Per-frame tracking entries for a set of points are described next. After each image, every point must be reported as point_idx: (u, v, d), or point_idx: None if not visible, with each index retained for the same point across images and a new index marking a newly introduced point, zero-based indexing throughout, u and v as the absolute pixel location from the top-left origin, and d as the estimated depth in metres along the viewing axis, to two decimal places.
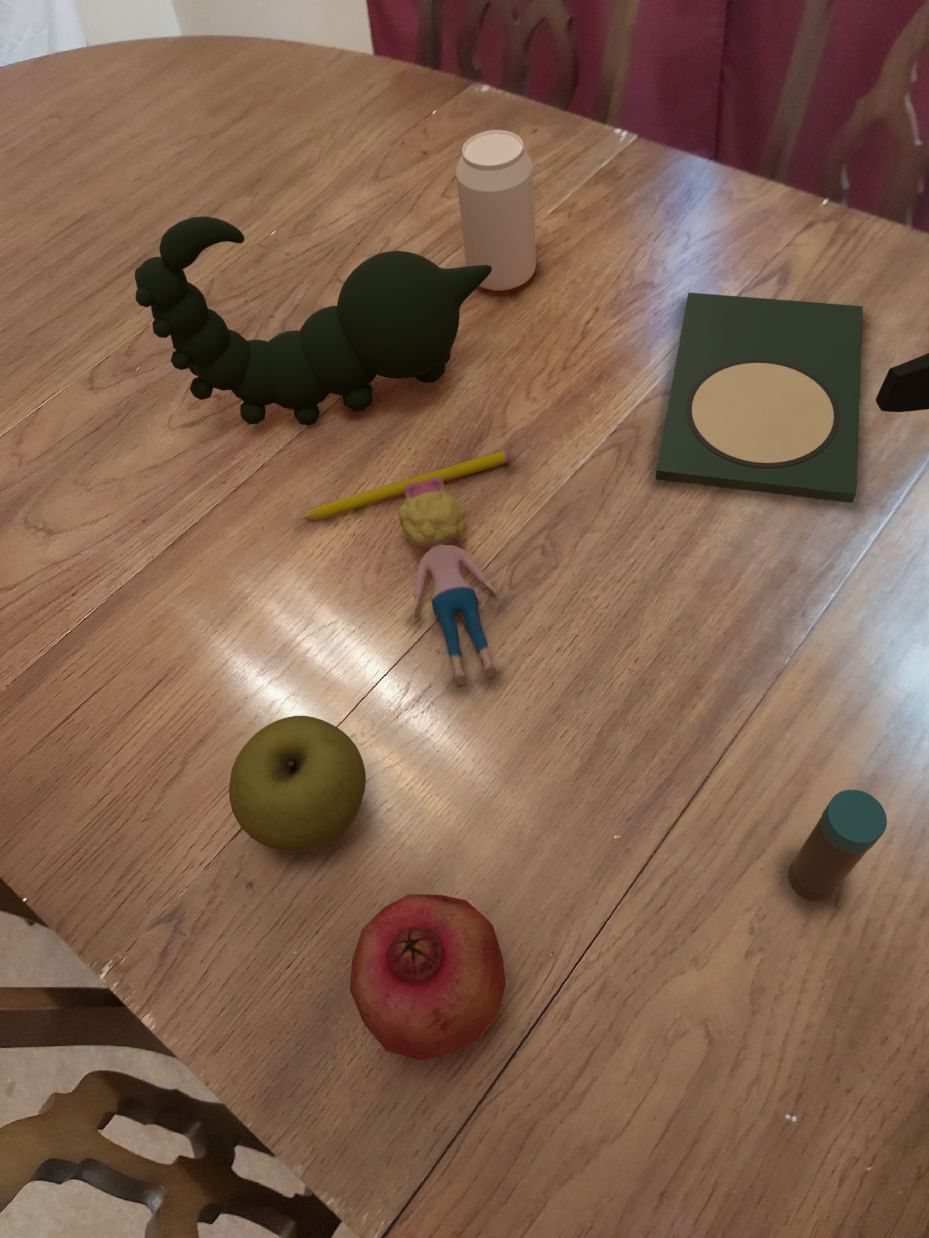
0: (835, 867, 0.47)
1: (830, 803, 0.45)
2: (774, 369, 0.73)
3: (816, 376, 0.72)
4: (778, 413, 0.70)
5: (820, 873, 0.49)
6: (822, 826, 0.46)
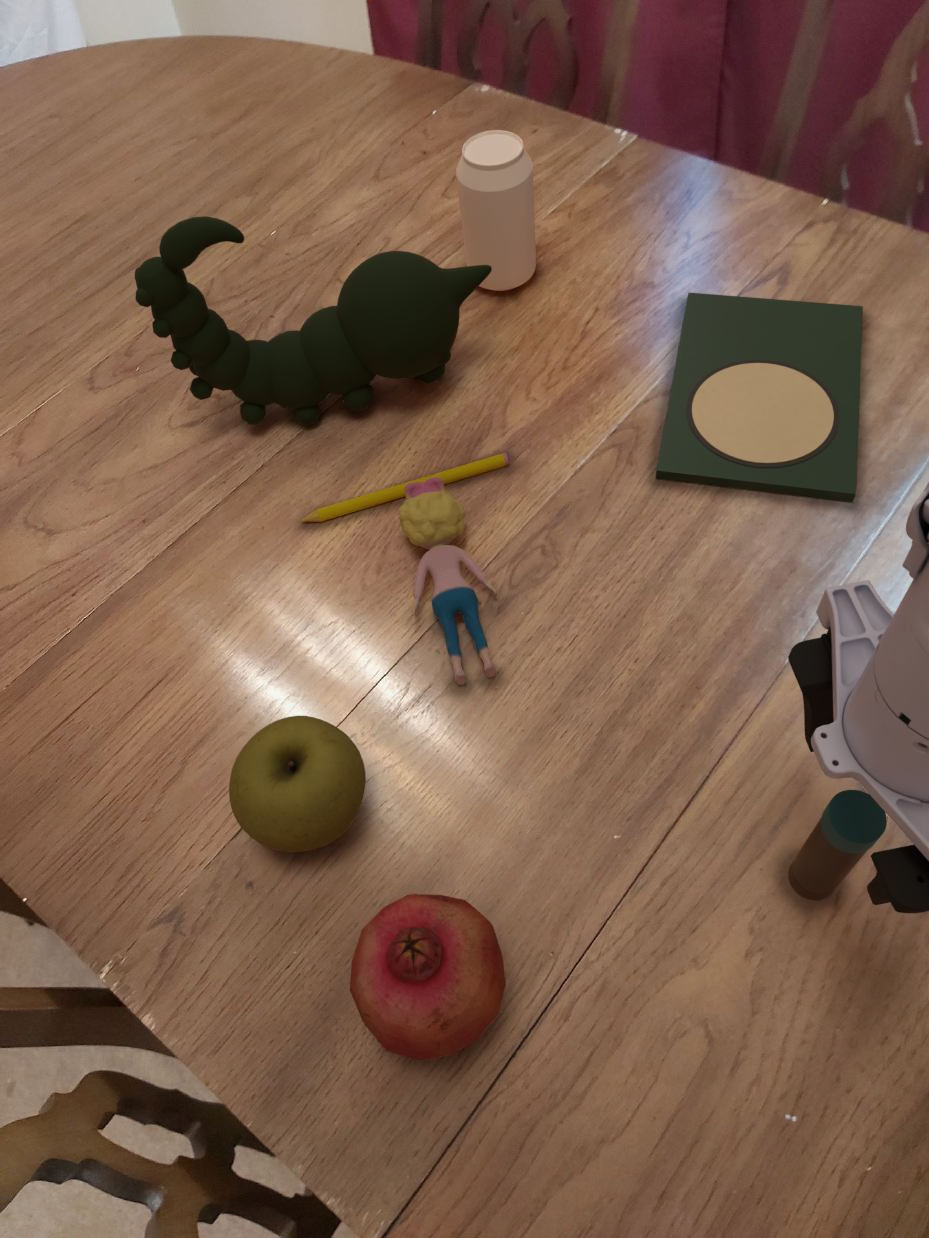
0: (835, 867, 0.47)
1: (830, 803, 0.45)
2: (774, 369, 0.73)
3: (816, 376, 0.72)
4: (778, 413, 0.70)
5: (820, 873, 0.49)
6: (822, 826, 0.46)
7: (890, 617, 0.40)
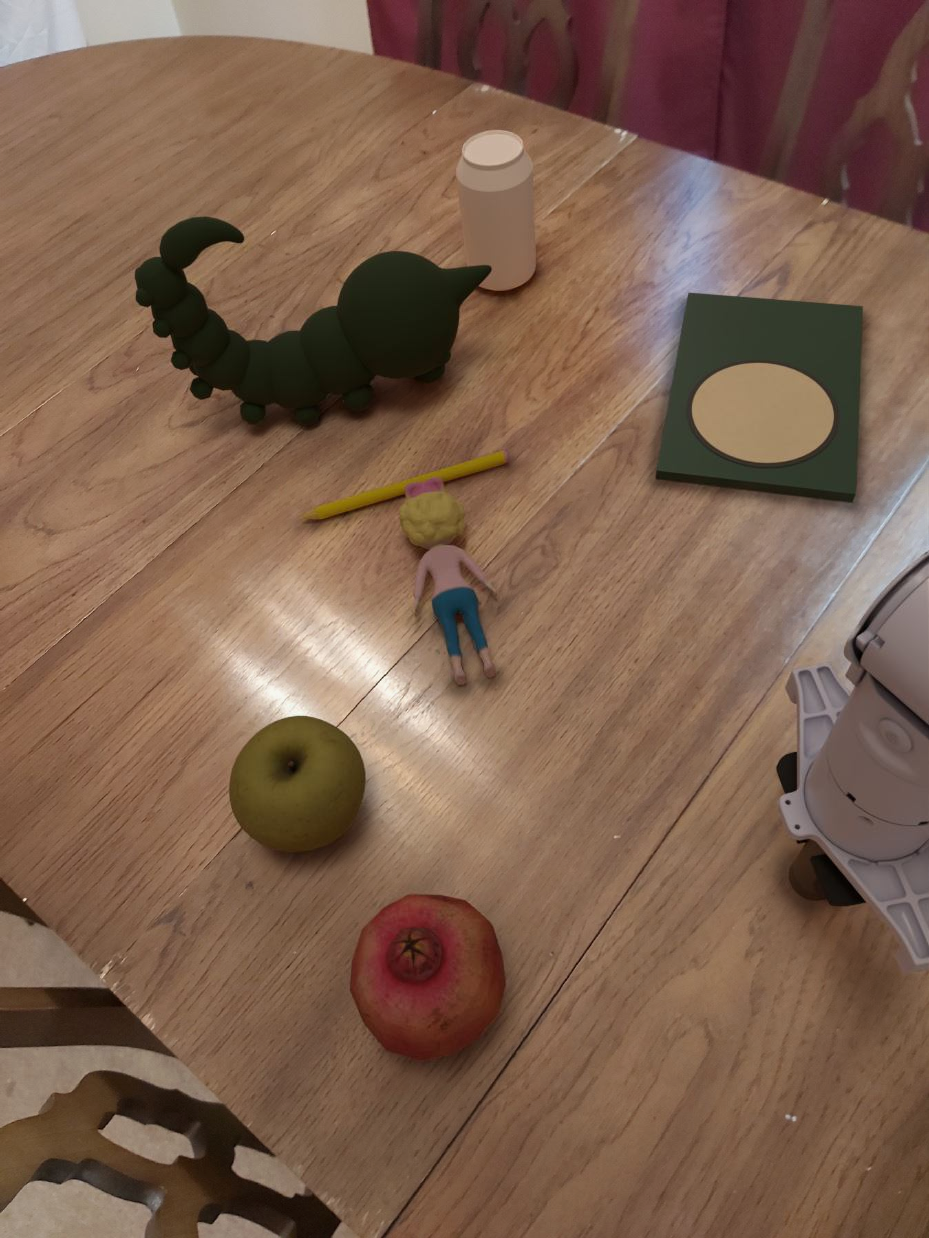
0: None
1: None
2: (774, 369, 0.73)
3: (816, 376, 0.72)
4: (778, 413, 0.70)
5: None
6: None
7: (847, 696, 0.46)
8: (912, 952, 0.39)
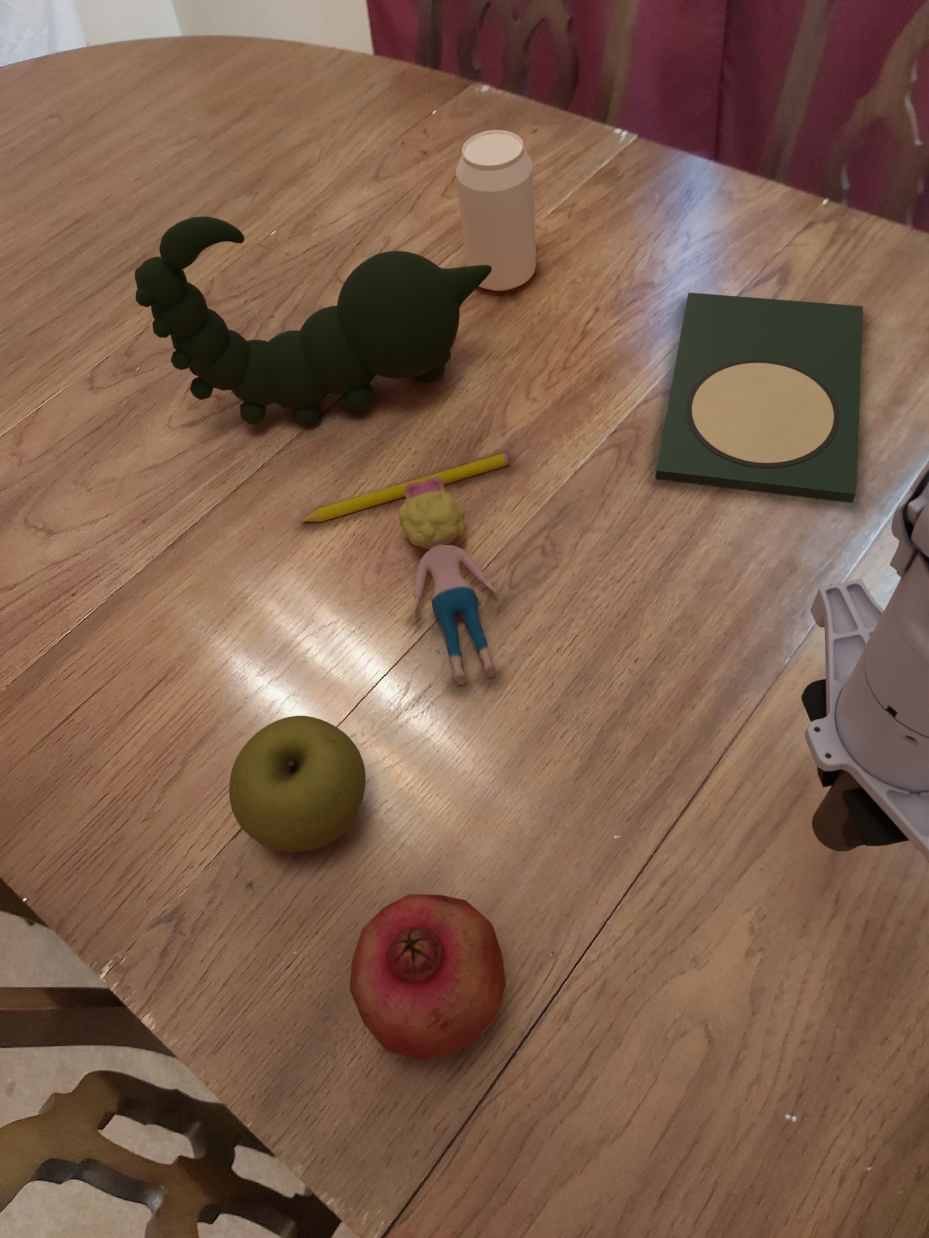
0: None
1: None
2: (774, 369, 0.73)
3: (816, 376, 0.72)
4: (778, 413, 0.70)
5: None
6: None
7: (881, 615, 0.41)
8: None
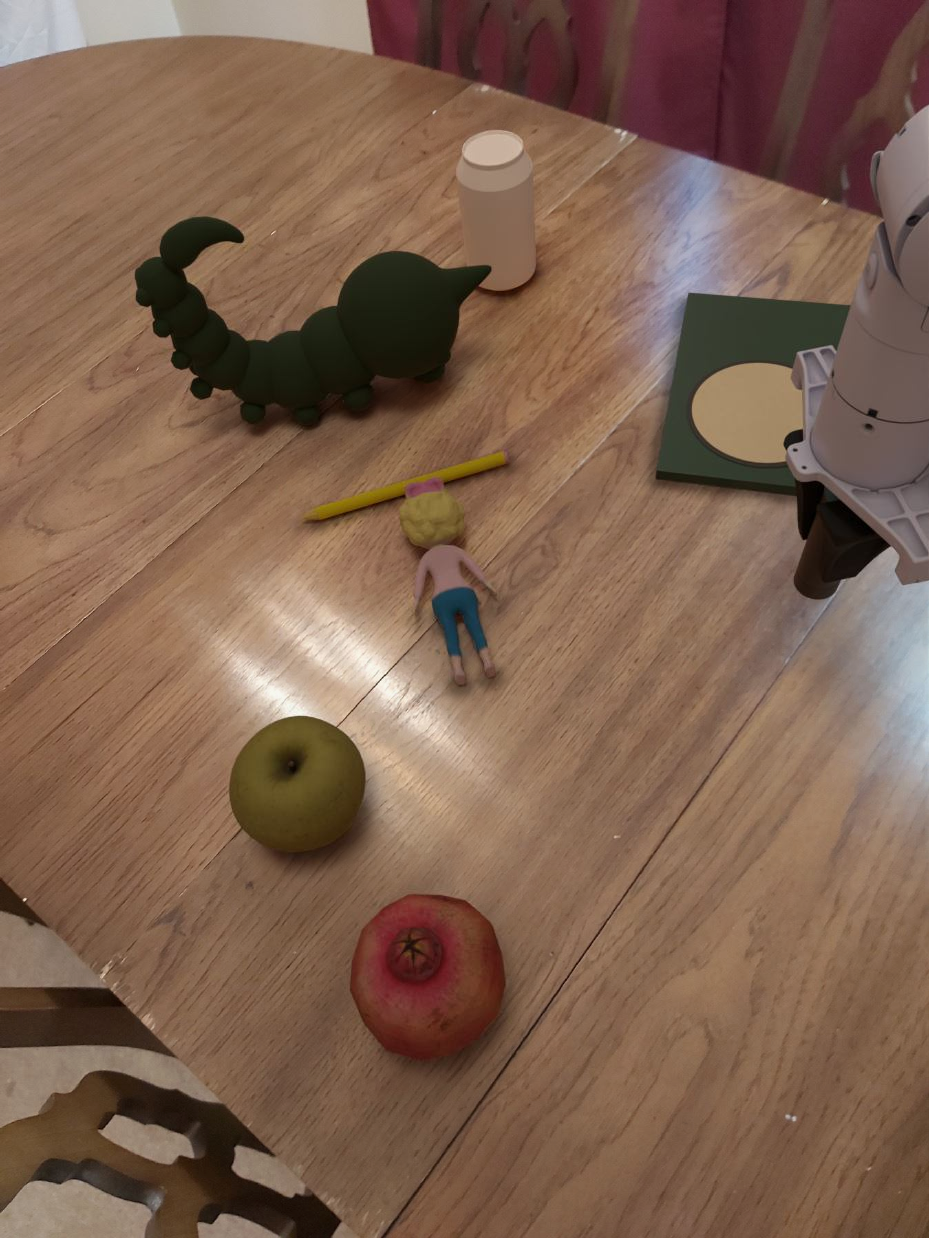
0: None
1: None
2: (774, 369, 0.73)
3: None
4: (778, 413, 0.70)
5: None
6: (825, 491, 0.49)
7: None
8: (911, 553, 0.43)
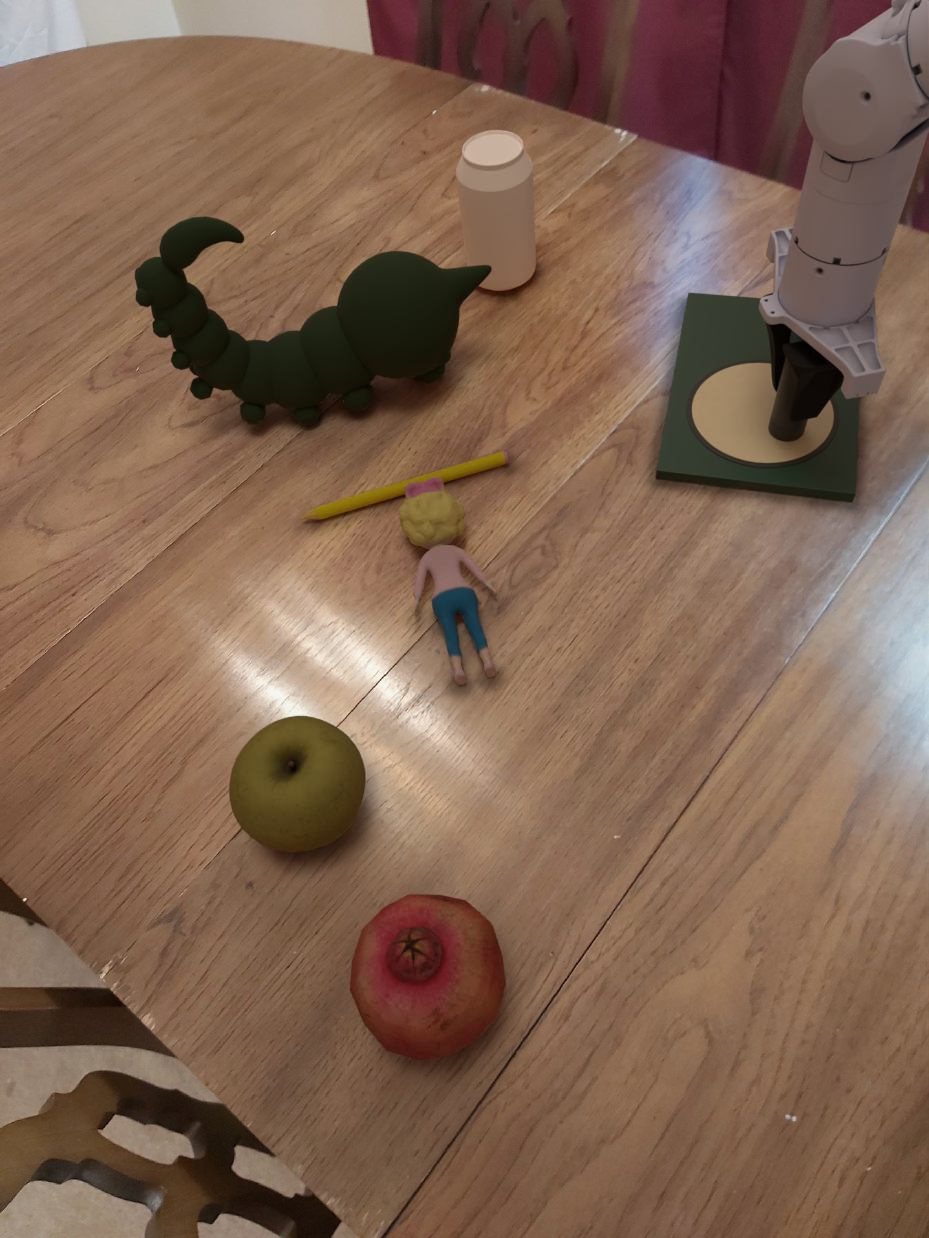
0: None
1: None
2: None
3: None
4: None
5: None
6: (790, 338, 0.62)
7: None
8: (852, 370, 0.56)
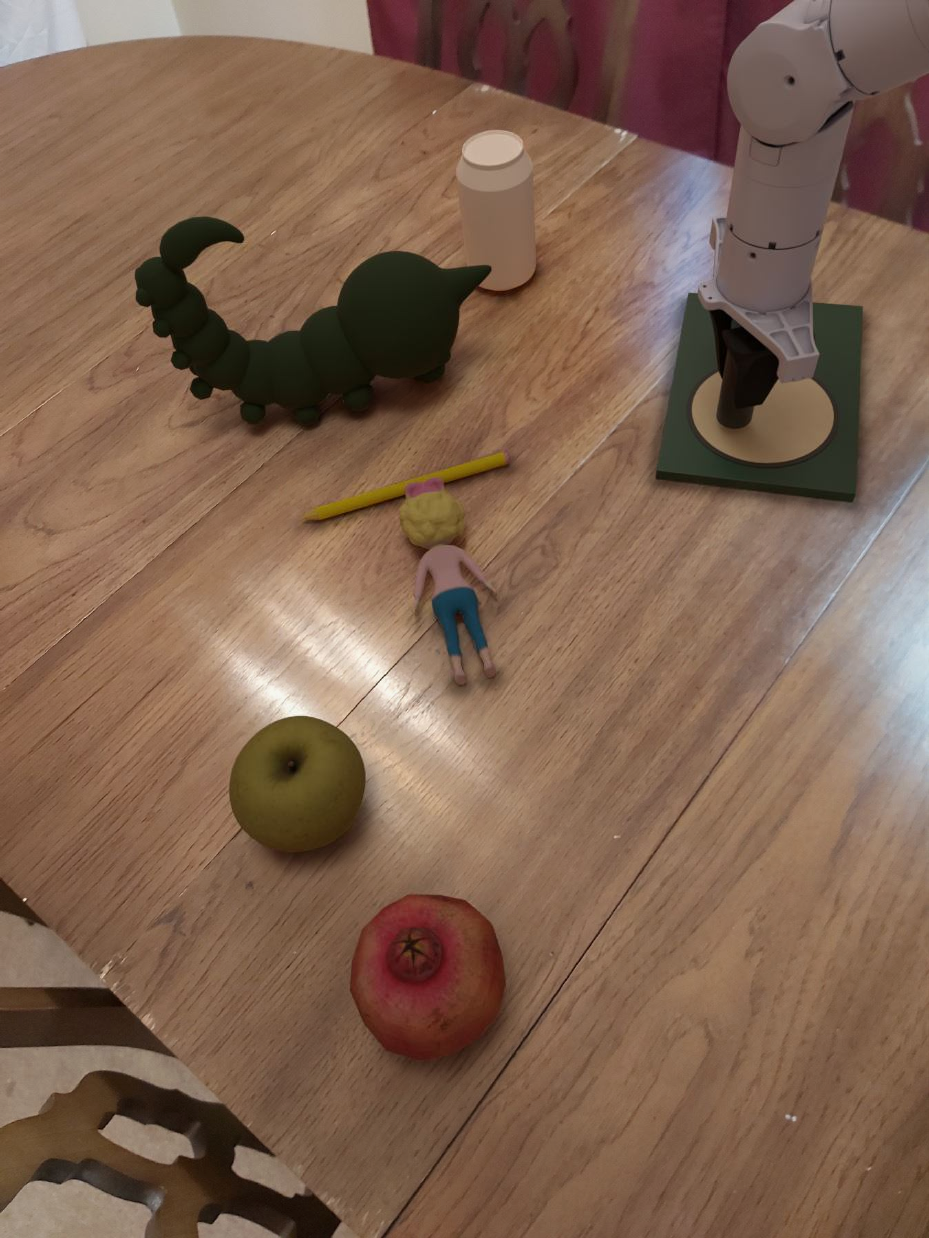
0: None
1: None
2: None
3: (816, 376, 0.72)
4: (778, 413, 0.70)
5: None
6: (731, 325, 0.62)
7: None
8: (785, 354, 0.56)
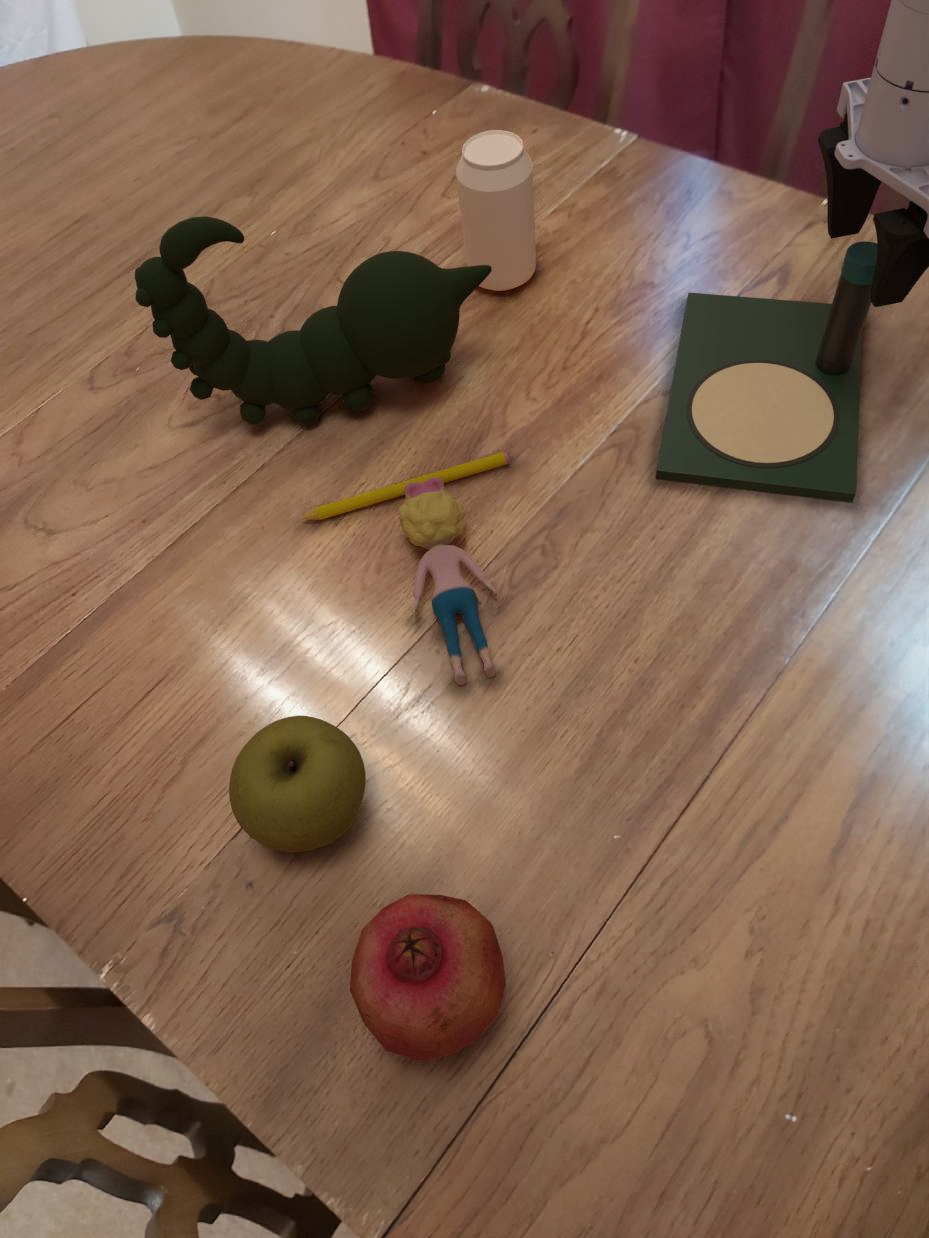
0: (851, 313, 0.67)
1: (848, 249, 0.65)
2: (774, 369, 0.73)
3: (816, 376, 0.72)
4: (778, 413, 0.70)
5: (839, 329, 0.68)
6: (842, 271, 0.65)
7: None
8: None
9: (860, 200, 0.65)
